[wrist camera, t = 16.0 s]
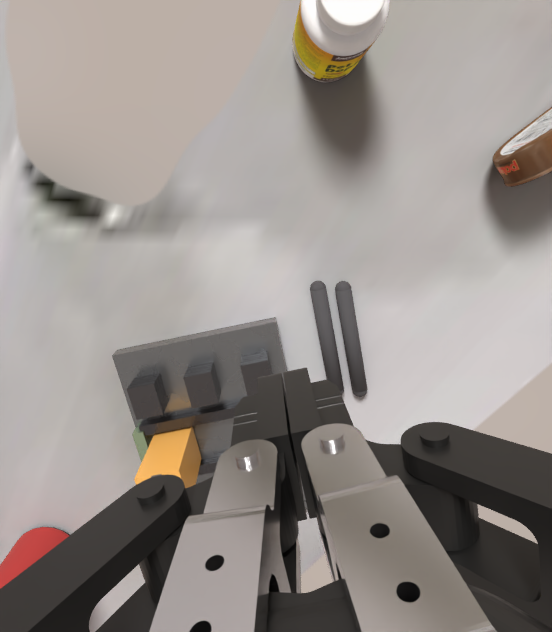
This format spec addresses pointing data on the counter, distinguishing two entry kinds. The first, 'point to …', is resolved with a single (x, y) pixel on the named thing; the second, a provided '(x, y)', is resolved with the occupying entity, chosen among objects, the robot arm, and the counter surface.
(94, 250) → the counter surface
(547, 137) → the tin
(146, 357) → the panel
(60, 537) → the beer can
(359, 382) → the pair of grey rods
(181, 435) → the toggle
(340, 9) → the supplement bottle
